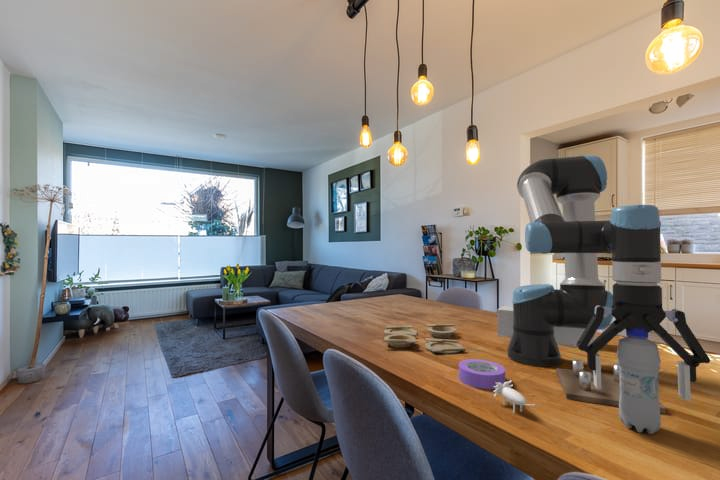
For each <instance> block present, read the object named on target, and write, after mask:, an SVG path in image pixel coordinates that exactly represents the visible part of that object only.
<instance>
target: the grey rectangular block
mask: <svg viewBox="0 0 720 480" xmlns="http://www.w3.org/2000/svg"><path fill="white" fill-rule="evenodd" d="M496 310H497V311H496V312H497V313H496V314H497V317H496V318H497V319H496V320H497V330H496V331H497V337H504V338H505V337H506V338H510V339H511V337H512V334H513V306H511V305H510V306H509V305H502V306H501V307H499V308H497V309H496ZM584 330H585V329H579V328H564V327H554V337H555V340H556V343H557V345H560V346H567V347H573V348H578V347H577V342H578V340H579V339H580V337H581V335H582V334H583V332H584ZM595 339H596V333H595V334H594V336H593V337H592V339H591V341H590V342H589V344H588V346H589V345H590V344H591V343H592V342H593V341H594V340H595Z"/></svg>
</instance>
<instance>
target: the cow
mask: <svg viewBox="0 0 720 480" xmlns="http://www.w3.org/2000/svg"><path fill="white" fill-rule="evenodd" d="M512 381H513V380H511V379H510V380H509V381H505V383H504V384H502V383H500V382H498V383H497V382H495V383H496V384H497V385H496V386H493V387H494V388H497V389H494V390H493V391H492V392H493V393H494V394H493V397H497V396H498V395H499V394H501V395H502V406H503V407H505V406H506V400H508V401H509V405H510V406H512V407H513V409H512V413H513V414H515V413H516V405H518V406H519V407H520V408H519V412H520V413H522V412H523V406H532V407H536V406H537V405H536V404H535V403H533V404H531V403H529V404H528V403H527V399H526V398H525V396H524V395H522V394H521V393H520V392H519V391H517V390H515V389H513V388H512V387H513V385H514V384H512ZM505 399H506V400H505Z"/></svg>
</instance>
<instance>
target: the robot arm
mask: <svg viewBox="0 0 720 480" xmlns="http://www.w3.org/2000/svg"><path fill="white" fill-rule="evenodd" d="M607 181H608V171H607V167H606V165H605V162H604V161H603V159H602V158H601V157H599V156H597V155H578V156H568V157H567V156H566V157H557V158H554V157H553V158H544V159H540V160H537V161H535V162H533V163H532V164H530V165H529V166H527V167H526V168H525V169H523V171H522V172H521V173H520V175H519V177H518V178H517V183H516V187H517V192H518V194H519V196H520V197H521V198H522V199H523V201H524V203H525V208H526V212H527V216H528V218H529V222H528V223H527V224H526V225H525V229H524V241H525V248H526V251H528V252H530V253H533V254H534V253H535V254H536V253H538V254H564V279H563V280H562V281H561V282H560V283H559V289H558V288H557V289H556V288H555V287H554V286H553V285H552V284H547V283H545V284H541V283H539V284H527V285H522V286H518V287H516V288H514V289H513V292H512V301H511V303H512V307H513V334H512V337H511V338H510V340H509V343H508V345H507V346H508V347H507V356H508V358H509V359H511V360H513V361H515V362H518V363H522V364H525V365H530V366H535V367H537V366H538V367H555V366H558V365H560V364H561V363H562V355H561V352H560V349H559V346H558V344H557V343H556V340H555V337H554V327H564V328H579V329H585V330H584V332H583V334H582V335H581V337H580V339H579V340H578V342H577V347H576V348H578V349H579V350H580V351H581V352H585V353H586V355H587V356H586V359H587V361H586V362H587V365H586V366H587V368H588V369H589V370H590V371H592V373H593V374H594V385H595V387H596V388H597V389H601V374H602V362H601V361H602V360H601V359H602V357H601V355H600V354H599V353H598V352H599V351H601V350H602V349H603V348H604V347H605V346H607V344H609V342H610V341H612V340H613V339H614V338H615V337H616V336H617V335H618V334H620V333H622V332H623V331H624V330H625V331H626V330H629V331H632V329H634V328H643V329H644V330H646V331H647V332H648V334H649V333H650V332H654V333H655V334H657V336H659V338H661V340H662V341H664V342H665V344H666V345H667V346H669V347H670V349H672V350H673V352H675V353H676V355H678V356H679V357H680V358H681V359H682V360H677V388H678V391H677V392H678V394H677V395H678V396H679V397H680V398H681V399H682V400H684V401H685V402H691V400H692V399H691V397H692V396H691V383H696V381H697V368H698V367H699V366H700V364H709V363H710V362H711V359H710V357H709V355H708V354H707V353H706V351H705V350H704V348H703V347H702V345H701V343H700V342H699V340H698V339H697V336H696V335H695V334H694V333H693V331H692V330H691V328H690V326H689V325H688V324H687V319H686V314H685V312H684V311H682V310H679V309H675V308H674V309H671V310H664V309H663V289H662V288H663V287H661V285H658V284H659V283H662V261H661V260H662V259H661V258H662V257H661V256H662V253H661V244H662V243H661V225H662V222H661V217H660V210H659V208H658V206H656V205H653V204H630V205H623V206H622V205H621V206H616V207H614V208H612V210H611V214H610V220H609V219H608V220H596V209H595V208H596V207H595V203H596V201H597V200H598V199H599V198H600V197H601V193H602V192H604V191H605V190H606V189H607V186H608V185H607V184H608V182H607ZM554 195H556V198H555V196H554ZM557 202H558V203H560V204H561V205H562V212H561V209H560V207H559V204H558V203H557ZM598 254H607V255H608V254H609V255H611V260H612V261H611V265H612V266H611V267H612V269H611V270H612V271H611V272H612V276H611V277H612V281H614V282H615V283H614V284H613V285H612V292H611V291H609V290H606V285H605V284H604V282H602V281H601V280H600V279H599V266H598V265H599V264H598V263H599V262H598ZM666 318H667V319H668V321H669V322H672V323H673V325H674V327H675V328H676V330H677V331H678V334H680V336H681V338H682V339H683V341H684V343H685V344H686V345H687V347H688V348H689V351H690V352H691V353H692V354H690V353H689V352H688V351H687V349H685V348H684V347H683V346H682V345H681V344H680V343H679V342H678V341H677V339H675V338H674V337H673V336H672V335H671V334H670V333H669V332H668V330H666V329H665V328H664V327H663V326H662V325H661V323H662V322H663V321H664V320H665V319H666ZM613 319H614V321H613ZM598 330H599V331H600V330H604V331H602V333H601V334H600V335H598V336H597V337H595V340H594V341H593V342H592V343H591V344H590V345H589V346H588V344H589V342H590V341H591V339H592V337H593V336H594V334H595V335H596V332H597V331H598Z"/></svg>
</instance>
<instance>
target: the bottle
mask: <svg viewBox="0 0 720 480" xmlns="http://www.w3.org/2000/svg"><path fill="white" fill-rule="evenodd" d="M625 333H626V336H625V337H621V338H619V339H618V343H617V351H616V358H617V359H616V362H617V364H619V377H620V398H619V407H618V416H619V418H620V421H621V422H622V424H624V425H625V427H626V428H627V429H629V430H632V429H633V426H634V427H635V430H636V432H638V433H640V434H641V433H643V430H645V429H646V433H647V434H648V435H653V434H655V433H657V432H659V430H660V428H661V426H662V425H661V423H662V419H661V413H660V407H659V402H660V394H659V386H660V385H659V371H660V370H661V362H662V360H661V356H660V351H659V346H658V344H657V343H656V342H654V341H652V340H650V339H649V333H648V332H647V331H646V330H644V329H643V328H634V329H632V331H629V330H626V329H625Z"/></svg>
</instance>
